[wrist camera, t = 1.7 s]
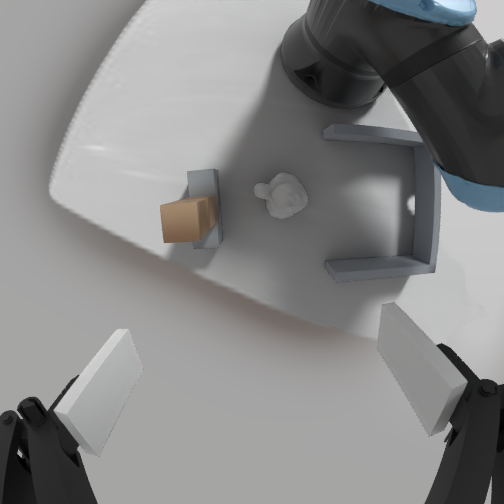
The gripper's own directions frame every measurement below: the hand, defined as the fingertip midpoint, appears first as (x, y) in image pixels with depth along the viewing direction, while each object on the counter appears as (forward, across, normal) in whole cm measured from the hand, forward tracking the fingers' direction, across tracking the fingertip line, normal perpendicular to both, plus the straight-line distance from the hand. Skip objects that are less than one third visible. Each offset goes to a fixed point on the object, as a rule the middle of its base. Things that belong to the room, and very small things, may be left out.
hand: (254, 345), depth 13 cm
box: (+23, +16, +4) cm, 29 cm away
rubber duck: (+24, +4, +6) cm, 24 cm away
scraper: (+23, -6, +5) cm, 24 cm away
